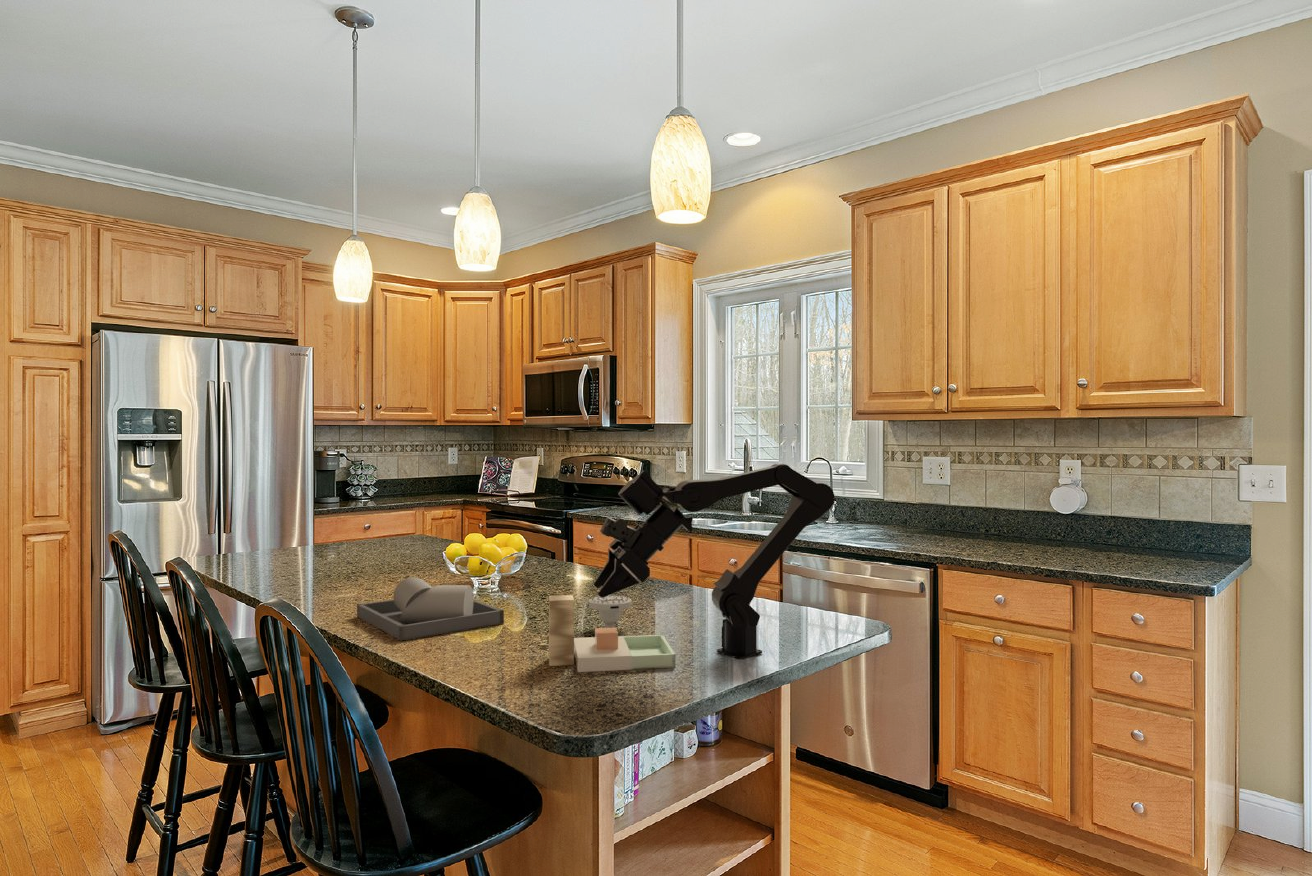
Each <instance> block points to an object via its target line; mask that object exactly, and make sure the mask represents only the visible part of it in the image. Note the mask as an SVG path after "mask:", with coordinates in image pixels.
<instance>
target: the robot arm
mask: <svg viewBox="0 0 1312 876" xmlns="http://www.w3.org/2000/svg"><path fill="white" fill-rule="evenodd" d="M776 486H779V487H780V488H781V489H783V490H784V491H785V492H787V493H788V494H790V495H791V496H792V497H791V499H790V502H789V505H788V507H787V510H786V512H785V514H784V516H783V517H782V518H781V519H780V521H779V522H778V523H777V524H776V525H775V526H774V527H773V528H772V530H771V531H770V532H769V534H768V535H767V536H766V537H765V538H764V540H763V541H762V542H761V543H760V544H759V546H758V547H757V548H756V549H755V550H754V552H753V553H752V554H751V555H750V556H749V557H748V559H747V560H746V562H744V564H743V565H742V566H741V567H739V568H738V569H736V570H735V571H731V570H730V569H729V568H726V569H725V570H724V572H723V573H722V575H721V577H720V578H719V579H718V580H717V581H715V582H713V586H714V588H713V589H712V592H711V601H712V604H713V605H714V606H715V608H717V610H718V611H719V612H720V613H721V616H722V618H724V619H722V626H721V648H717V649H716V653H719V654H723V655H726V656H728V657H731V658H735V659H739V660H742V659H745V658H749V657H753V656H757V655H761V654H763V650H762V649H758V648H757V638H758V637H757V636H758V635H757V632H758V631H757V626H758V624H759V621H760V618H761V615H760V613H758V612H757V611H756V610H755V609H754V608H753V607H752V606H751V603H752V601H753V599H754V597H755V595H756V591H757V589H758V587H759V583H760V582H761V581H762V579H763V578H764V577H765V576H766V575H767V574H768V572H769V571H770V570H771V568H772V567H773V566H774V565H775V564H776V563H777V562H778V560H779V559H780V558H781V556H782V555H783V554H784V553H785V552H786V551H787V549H788V548H789V547H790V546H791V544H792V543H793V542H794V541H795V540H796V539H797V537H799V535H800V534H801V532H802V531H803V530H804V529H805V528H806V527H808V526H809V525H811V524H812V523H815V522H816V521H817V520H819V519H821V517H822V516H824V515H825V514H826V513H828V512H829V511H830V510H831V509H832V508H833V506H834V505H835V501H836V499H835V492H834V490H833V489H832V487H831V486H829V485H828V484H827V483H823V482H818V481H813V480H812V479H810V478H809V477H807V476H805V475H804V474H801V473H800V472H798V471H796V470H795V469H793V468H792V467H790V465H788V464H785V463H774V464H772V465H770V466H766V467H762V468H758V469H754V470H753V469H752V470H750V471H745V472H742V473H736V474H733V475H729V476H725V477H721V478H710V479H708V478H707V479H706V478H704V479H689V480H688V479H687V480H682V481H679V483H677V485H676V486H675V487H669V488H667V487H664V488H661V487H660V486H659V484H658V483H656V482H655V481H654V479H653V478H652V477H651V476H650V474H649V473H648V472H647V471H645V470H642V471H641V472H640V473H638V474H637V475H636V476H634V477H633V478H632V479H631V480H628V482H626V483H625V484H624V486H623V487H622V488H621V489H620V490H619V491H618V492H617V493H618V494H617V495H618V496H619V497H620V498H621V499H622V500H623V501H624V502H625V503H626V504H627V505H628V506H629V507H630V508H631V510H633V511H634V512H635V513H636V514H637V515H638V516H639V515H642V514H644V515H645V516H648V515H649V516H648V517H647V518H646V519H645V520H644V522H642V524H640V523H639V524H638V523H637V524H635V525H634V527H631V526H629V525H628V522H627V520H624V519H621V518H620V517H618V518H617V519H614V518H612V517H609V516H606V518H605V519H604V522H603V524H602V526H601V528H600V531H599V532H600V533H601V534H602V535H604V536H606V537H607V538H609V537H611V538H613V540H612V542H611V543H610V544H609V545H608V546H609V548H607V562H606V563H605V565H604V566H603V567H602V570H601V571H600V573H599V575H598V577H597V578H596V580H595V581H594V583H593V585H594V587H595V588H596V589H599V588H600V590H599V591H598V592H597V596H600V597H601V598H603V597H606V596H609V595H613V594H615V593H617V592H620V591H622V590H625V589H627V588H630V587H633V586H636V585H639V584H640V583H641V582H642V584H644V582H645V581H646V580H647V579H648V578H649V577H650V575H651V568H650V567H649V566H648V565H649V563H650V562H649V561H650V560H651V558H652V557H653V556H654V555H656V553H657V552H658V551H659V552H662V550H664V548H665V547H664V545H665V544H666V543H667V542H668V541H669V540H670V538H672V537H673V536H674V535H675V534H676V533H677V531H679V530H680V528H681V527H683V528H684V529H685V530H686V531H688V532H693V520H694V519H693V517H691V515H690V516H689V515H688V516H686V515H684V513H682V511H680V509H682V510H685V511H687V512H689V513H696V512H697V513H698V512H700V511H702V510H704V509H707V508H709V507H712V506H714V505H715V504H717V503H718V502H720V501H722V500H725V499H727V498H730V497H735V496H739V495H742V494H747V493H750V492H754V491H759V490H762V489H763V490H764V489H767V488H772V487H776ZM662 499H664V500H666V501H667V502H669V503H673V504H676V505H677V507H676V506H673V507H672V508H670V507H669V505H668V504H667V503H665V502H664V501H663V500H662ZM678 507H680V509H679V508H678ZM652 512H653V513H652Z"/></svg>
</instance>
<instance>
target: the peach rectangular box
mask: <svg viewBox="0 0 1312 876" xmlns="http://www.w3.org/2000/svg"><path fill="white" fill-rule="evenodd" d="M618 636H619V632H618V629H617V627H615V628H605V627H600V628H599V627H595V628H594V637H595V646H596V649H597V650H601V649H618Z"/></svg>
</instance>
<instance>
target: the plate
mask: <svg viewBox="0 0 1312 876" xmlns="http://www.w3.org/2000/svg"><path fill="white" fill-rule="evenodd" d="M574 661H575V663H576V669H577V672H578V673H586V672H587V673H588V672H607V671H609V672H610V671H611V672H612V671H630V670H632V654H631V652H630V650H629V648H628V646H627V644H626V641H625V639H624V637H623V635H618V649H601V650H597V649H596V646H595V636H594V637H593V636H591V637H574ZM632 671H633V670H632Z"/></svg>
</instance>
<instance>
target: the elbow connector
mask: <svg viewBox="0 0 1312 876" xmlns="http://www.w3.org/2000/svg"><path fill="white" fill-rule="evenodd" d="M473 591H474V590H473V588H472V586H471V585H468V584H467V585H466V584H465V585H462V584H461V585H460V584H459V585H458V584H457V585H455V584H454V585H453V584H451V585H450V584H449V585H447V584H446V585H445V584H441V585H440V584H439V585H436V586H435V585H434V586H432V585H430V584H429V583H427V582H426V581H425V580H423V579H421V578H419V577H415V576H411V577H406V578H404V579H402V580H401V581H400V582H399V583H398V584H397V585H396V587H395V588H394V590H393V596H392V597H393V599H392V600H394V603H395V605H396V606H397V607H398V608H399V609H400V610H401V611H402V614H401V616H400V622H401V623H420V622H427V621H433V620H439V619H446V618H452V617H458V616H465V615H471V614H472V612H473V599H474V592H473Z"/></svg>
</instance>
